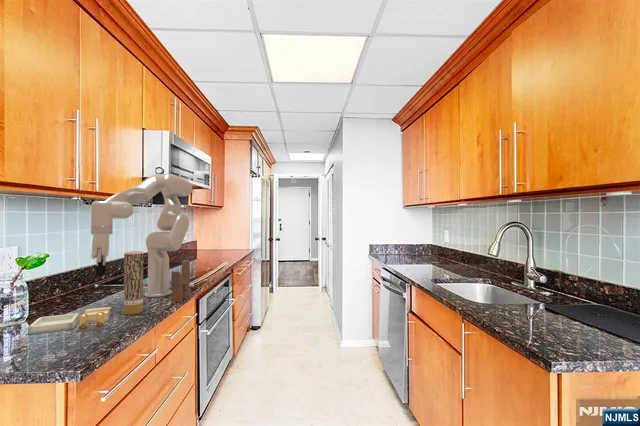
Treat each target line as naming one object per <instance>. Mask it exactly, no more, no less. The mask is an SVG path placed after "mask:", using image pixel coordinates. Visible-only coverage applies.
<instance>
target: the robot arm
mask: <svg viewBox="0 0 640 426" xmlns="http://www.w3.org/2000/svg"><path fill="white" fill-rule="evenodd" d="M192 192H193V185H192V183H191V182H190V181H188V180H187V179H185V178H182V177H180V176H177V175H174V174H171V173H157V174H156V173H154V174H152V175H150V176H148V177H147V178H145V179H144V180H143V181H141V182H140V183H138V184H136V185H135V186H133V187H131V188H128V189H126V190H122V191H120V192H118V193H116V194H113V195H112V196H110V197H108V198H107V199H105V200H95V201H93V202H91V204H90V205H91V206H90V207H91V209H90V235H91V236H92V241H91V242H92V243H91V254H90V255H91V256H90V257H91V258H90V259H92V260H95V261H96V262H95V263H96V264H95V265H96V266H95V276H99V277H100V276H105V275H106V274H107V265H106V264H107V263H106V261H107V258H108V256H109V253H110V252H109V251H110V235H113V229H114V228H113V225H114V223H113V222H114V220H115V219H117V220H118V219H119V220H122V219H123V220H124V219H128V218H130V217H131V216H132V215H133V213H134V210H135V209H134V207H133V206H135V205H139V204H143V203H146V202H148V201H149V200H150V199H152V198H153V197H155V196H156V195H157V194H159V193H161V194H162V197H163V200H164V205H163V208H162V210H161V213H160V215H159V217H158V220H157V222H156V226H157V228H158V230H159V231H153V232H151V233H149V234H148V235H147V236H146V239H145V247H146V249H147V291H145V292H143V296H145V297H146V298H147V297H148V298H159V297H166V296H169V295H172V289H170V257H169V255H168V254H169V253H168V252H176V251H178V250H179V249H180V248H181V247H182V245H183V242H184V239H185V237H186V235H187V232H188V229H189V225H190V220H189V217H188V216H187V215H186V214H184V213H181V211H182V203H181V202H180V199H179V198H178V197H188V196H190V195H191V194H192Z"/></svg>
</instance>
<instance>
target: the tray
mask: <svg viewBox="0 0 640 426" xmlns="http://www.w3.org/2000/svg"><path fill="white" fill-rule="evenodd" d="M79 315H81V314H80V312H78V313H75V312H74V313H67V314H57V315H47V316H40V317H39V318H37V319H35V320H34V322H32V323H31V324H30V325H29V326H28V327H27V335H29V336H30V335H38V334H47V333H54V332H61V331H62V332H65V331H70V330H73V328H74V327H75V326H76V325H77V323H79Z"/></svg>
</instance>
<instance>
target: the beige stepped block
mask: <svg viewBox="0 0 640 426" xmlns="http://www.w3.org/2000/svg"><path fill="white" fill-rule="evenodd" d="M98 312H104V322H108V321H109V320H110V317H111V315H112V307H111V306H105V307H94V308H87V309H86V310H85V311H84V312H83V314H88V317H87V324H93V323H95V324H96V313H98Z"/></svg>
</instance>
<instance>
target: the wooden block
mask: <svg viewBox="0 0 640 426" xmlns="http://www.w3.org/2000/svg"><path fill="white" fill-rule="evenodd" d="M190 267H191V265H190V260H188V259H185V260H182V261H181V272H180V271H171V290H172V294H171V302H172V303H180V302H182V301H183V300H186V299H187V298H191V294H192V293H191V289H190V284H191V283H190V277H191V276H190V273H191V272H190Z"/></svg>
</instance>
